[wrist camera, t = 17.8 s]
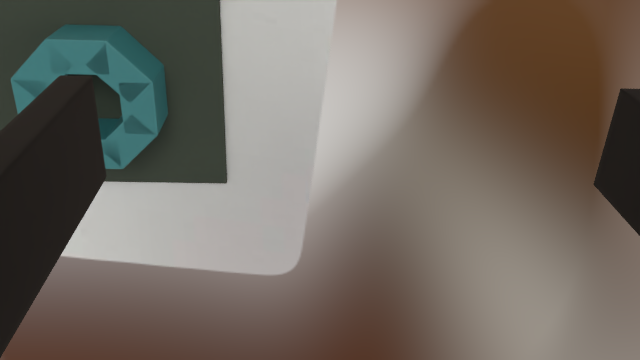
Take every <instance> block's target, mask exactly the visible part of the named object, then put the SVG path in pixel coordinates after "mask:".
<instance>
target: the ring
mask: <svg viewBox="0 0 640 360" xmlns="http://www.w3.org/2000/svg"><path fill="white" fill-rule="evenodd" d="M68 74H80V75H97V76H98V77H99V78H100V79H102V80H103V81H104V82H105V83H106V84H108V85H109V86H110V87H111V88H112V89H113V90H115V91H116V92H117V93H118V94H119V95H120V103H121V111H122V116H121V117H120V118H119V119H109V118H98V121H99V128H100V135H101V141H102V148H103V155H104V162H105V169H124V168H125V167H126V166H127V165H128V164H129V163H130V162H131V161H132V160H133V159H134V158H135V157H136V156H137V155H138V154H139V153H140V152H141V151H142V150H143V149H144V148H145V147H146V146H147V145H148V144H149V143H151V142H152V141H153V140H154V139H155V138H156V137H157V136H158V134H159V132H160V130H161V128H162V126H163V124H164V122H165V120H166V117H167V115H168V107H167V95H166V84H165V72H164V65H163V64H162V63H161V62H160V61H159V60H158V59H157V58H156V57H155V56H153V55H152V54H151V53H150V52H149V51H148V50H147V49H146V48H145V47H143V46H142V45H141V44H140V43H139V42H138V41H137V40H136V39H135V38H134V37H132V36H131V35H130V34H129V33H128V32H127V31H126V30H125V29H124V28H123V27H121V26H105V25H69V24H65V25H64V26H62V27H61V28H60V29H58V30H57V31H55V32H54V33H53V34H51V35H50V36H49V37H47V38H46V39H45V40H44V41H43V42H42V43H41V44H40V45H39V46H38V48H37V49H36V50H35V51H34V52H33V53H32V54H31V56H30V57H29V58H28V59H27V60H26V61H25V62H24V64H23V65H22V66H21V67H20V68H19V69H18V70H17V72H16V73H15V74H14V75H13V76H12V77H11V84H12V89H13V94H14V98H15V103H16V108H17V113H18V114H19V113H20V112H21V111H22V110H23V109H24V108H25V107H27V106H28V105H29V104H30V103H31V102H32V101H33V100H34V99H35V98H36V97H37V96H38V95H39V94H40V93H41V92H43V91H44V90H45V89H46V88H47V87H48V86H49V85H50V84H51V83H52V82H53V81H54V80H55V79H56V78H57V77H59V76H60V75H65V76H67V75H68Z"/></svg>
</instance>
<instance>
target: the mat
mask: <svg viewBox="0 0 640 360" xmlns="http://www.w3.org/2000/svg"><path fill="white" fill-rule="evenodd" d="M65 24H69V25H105V26H121V27H123V28H124V29H125V30H126V31H127V32H128V33H129V34H130V35H131V36H132V37H134V38H135V39H136V40H137V41H138V42H139V43H140V44H141V45H142V46H143V47H145V48H146V49H147V50H148V51H149V52H150V53H151V54H152V55H153V56H155V57H156V58H157V59H158V60H159V61H160V62H161V63H162V64H163V65H164V72H165V84H166V95H167V107H168V115H167V117H166V120H165V122H164V124H163V126H162V128H161V130H160V132H159V134H158V136H157V137H156V138H155V139H154V140H153V141H152V142H151V143H149V144H148V145H147V146H146V147H145V148H144V149H143V150H142V151H141V152H140V153H139V154H138V155H137V156H136V157H135V158H134V159H133V160H132V161H131V162H130V163H129V164H128V165H127V166H126V167H125V168H124V169H106V176H107V177H106V179H105V180H104V181H118V182H183V183H226V182H227V173H226V148H225V124H224V99H223V74H222V50H221V25H220V0H0V131H1V130H2V129H3V128H4V127H5V126H6V125H7V124H8V123H9V122H10V121H12V120H13V119H14V118H15V117H16V116H17V115H18V113H17V108H16V103H15V98H14V94H13V89H12V84H11V77H12V76H13V75H14V74H15V73H16V72H17V70H18V69H19V68H20V67H21V66H22V65H23V64H24V62H25V61H26V60H27V59H28V58H29V57H30V56H31V54H32V53H33V52H34V51H35V50H36V49H37V48H38V46H39V45H40V44H41V43H42V42H43V41H44V40H45V39H46V38H47V37H49V36H50V35H51V34H53V33H54V32H55V31H57V30H58V29H60V28H61V27H62V26H64V25H65ZM67 76H92V80H93V86H94V93H95V100H96V107H97V114H98V118H109V119H119V118H120V117H121V116H122V111H121V103H120V95H119V94H118V93H117V92H116V91H115V90H113V89H112V88H111V87H110V86H109V85H108V84H106V83H105V82H104V81H103V80H102V79H100V78H99V77H98V76H97V75H80V74H68V75H67Z"/></svg>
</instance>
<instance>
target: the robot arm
mask: <svg viewBox="0 0 640 360" xmlns="http://www.w3.org/2000/svg"><path fill="white" fill-rule="evenodd" d="M106 177H107V176H106V169H105V162H104V155H103V148H102V141H101V135H100V128H99V121H98V114H97V107H96V100H95V93H94V86H93V80H92V76H65V75H60V76H59V77H57V78H56V79H55V80H54V81H53V82H52V83H51V84H50V85H49V86H48V87H47V88H46V89H45V90H44V91H43V92H41V93H40V94H39V95H38V96H37V97H36V98H35V99H34V100H33V101H32V102H31V103H30V104H29V105H28V106H27V107H25V108H24V109H23V110H22V111H21V112H20V113H19V114H18V115H17V116H16V117H15V118H14V119H13V120H12V121H10V122H9V123H8V124H7V125H6V126H5V127H4V128H3V129H2V130H1V131H0V357H1V356H2V354H3V352H4V351H5V349H6V347H7V346H8V344H9V342H10V340H11V338H12V337H13V335H14V334H15V332H16V330H17V328H18V327H19V325H20V323H21V322H22V320H23V318H24V316H25V315H26V313H27V311H28V310H29V308H30V306H31V305H32V303H33V301H34V300H35V298H36V296H37V294H38V293H39V291H40V289H41V288H42V286H43V284H44V282H45V281H46V279H47V277H48V276H49V274H50V272H51V271H52V269H53V267H54V266H55V264H56V262H57V260H58V259H59V257H60V255H61V254H62V252H63V250H64V249H65V247H66V245H67V243H68V242H69V240H70V238H71V237H72V235H73V233H74V231H75V230H76V228H77V226H78V225H79V223H80V221H81V220H82V218H83V216H84V214H85V213H86V211H87V209H88V208H89V206H90V204H91V203H92V201H93V199H94V197H95V196H96V194H97V192H98V191H99V189H100V187H101V186H102V184H103V182H104V180H105V179H106ZM594 186H595V187H596V188H597V189H598V190H599V191H600V192H601V193H602V194H603V195H604V197H605V198H606V199H607V200H608V201H609V202H610V203H611V204H612V206H613V207H614V208H615V209H616V210H617V211H618V212H619V213H620V214H621V216H622V217H623V218H624V219H625V220H626V221H627V222H628V223H629V224H630V226H631V227H632V228H633V229H634V230H635V231H636V232H637V233H638V234H639V235H640V89H620V93H619V96H618V100H617V104H616V107H615V110H614V114H613V117H612V121H611V124H610V128H609V132H608V135H607V139H606V142H605V146H604V149H603V153H602V156H601V160H600V163H599V167H598V170H597V174H596V178H595V181H594Z"/></svg>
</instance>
